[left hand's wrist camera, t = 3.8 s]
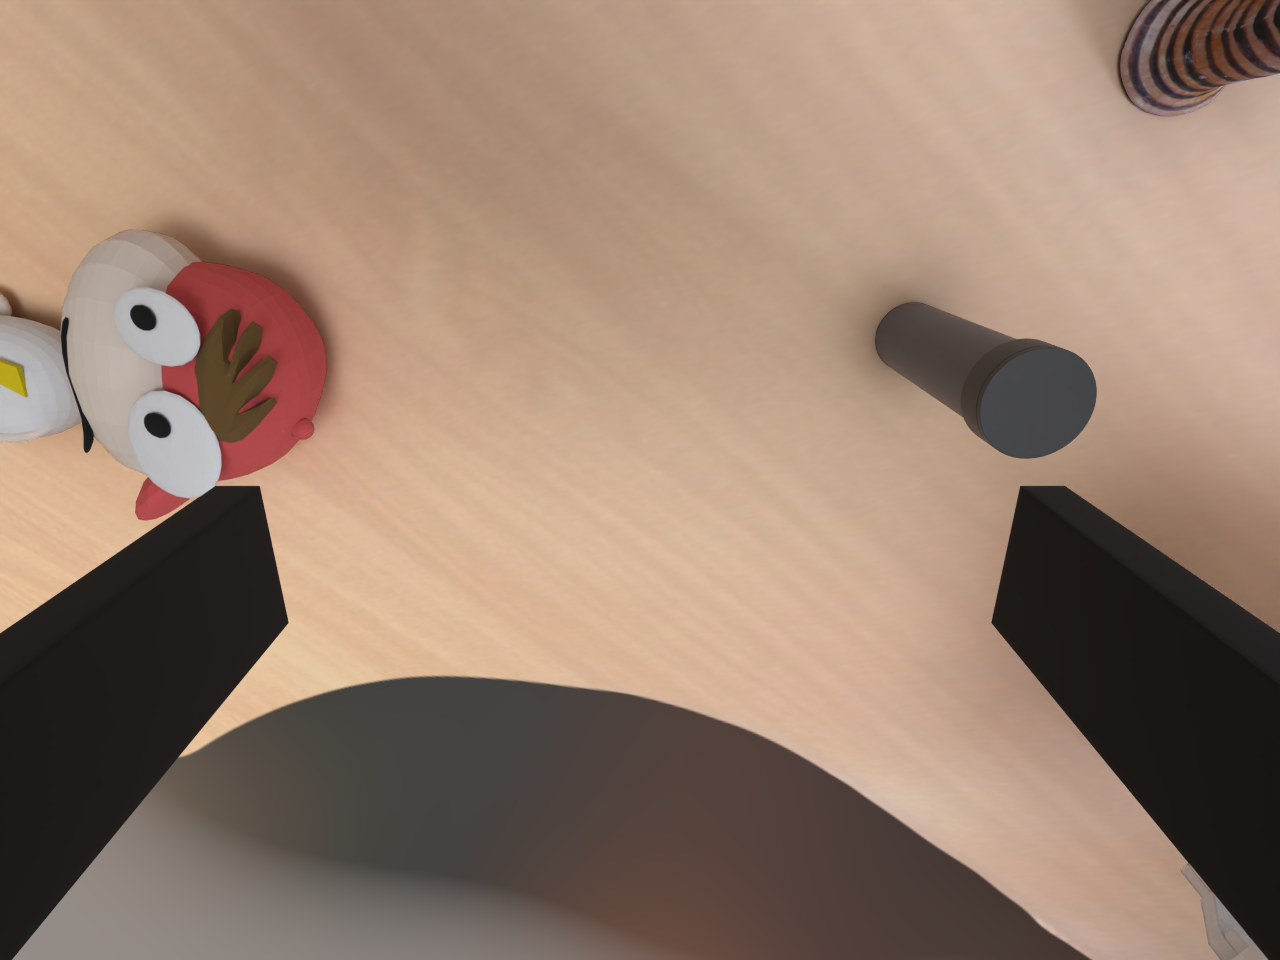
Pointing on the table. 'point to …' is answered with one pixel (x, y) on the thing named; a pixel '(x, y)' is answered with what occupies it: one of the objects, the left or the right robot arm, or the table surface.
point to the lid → (1028, 397)
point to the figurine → (1198, 51)
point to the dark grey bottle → (934, 349)
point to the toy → (165, 368)
